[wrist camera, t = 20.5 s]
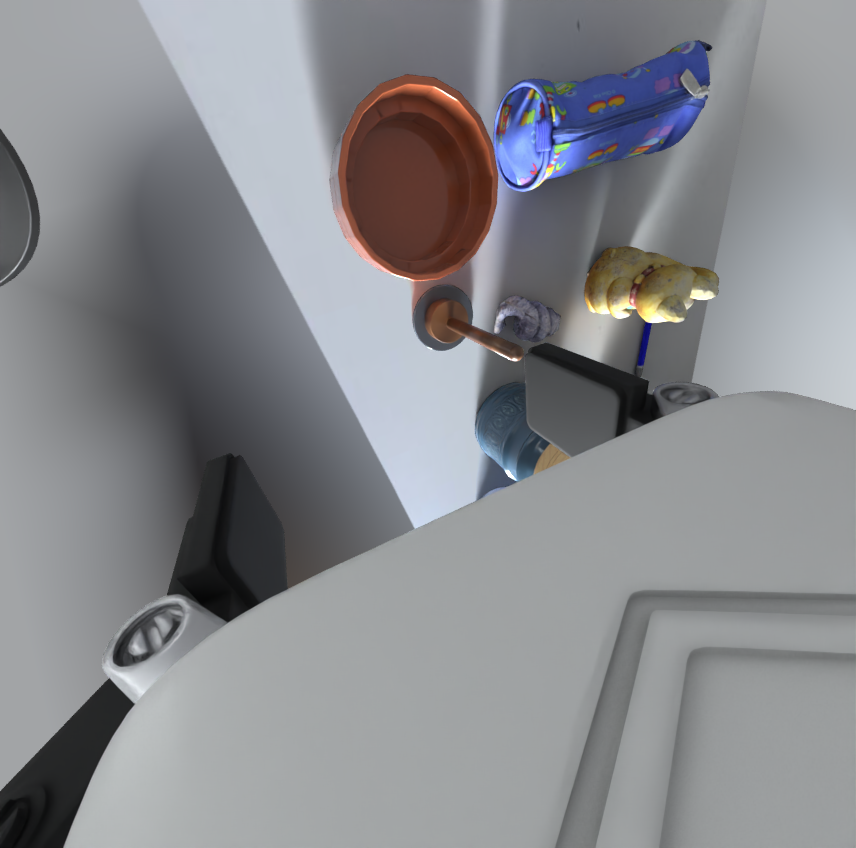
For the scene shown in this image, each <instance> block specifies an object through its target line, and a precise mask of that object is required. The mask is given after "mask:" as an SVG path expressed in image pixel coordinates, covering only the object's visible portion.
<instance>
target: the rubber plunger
mask: <svg viewBox="0 0 856 848" xmlns="http://www.w3.org/2000/svg"><path fill="white" fill-rule="evenodd" d="M425 327H426V329H427V331H428V333H429V334H430V335H431V336H432V337H434V338H435V339H437V340H438V341H440V342H443V343H452V342H455V341H457V340H458V339H460V338H461V337H462V336H464V337H466V338H468V339H470V340H472V341H474V342H476V343H478V344H480V345H482V346H484V347H486V348H488V349H490V350H492V351H494V352H496V353H498V354H500V355H502V356H504V357H506V358H508V359H510V360H512V361H519V360H521V359H522V357H523V355H524V350H523V348H522V347H521V346H519V345H517V344H514V343H512V342H510V341H507V340H505V339H503V338H500V337H498V336H496V335H493V334H491V333H489V332H486V331H484V330H482V329H479V328H477V327H475V326H472V325H470V324H468V313H467V311H466V309H465V307H464V306H463V305H462V304H461V303H459V302H457V301H454V300H451V299H448V298H442V299H439V300H436V301H435V302H433V303H432V304H431V305H430V307H429V308H428V310H427V312H426V315H425Z"/></svg>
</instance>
